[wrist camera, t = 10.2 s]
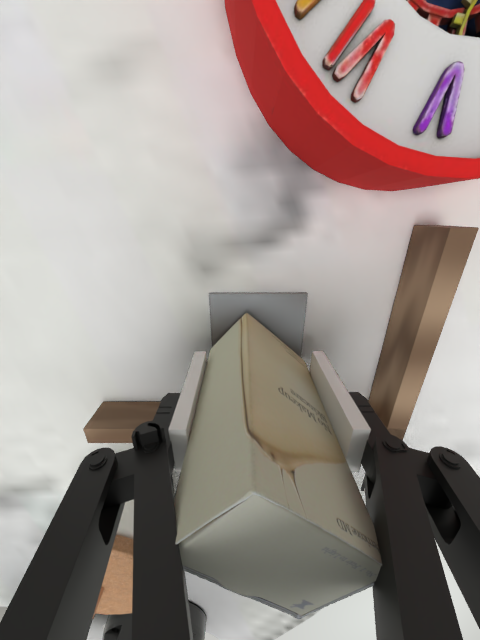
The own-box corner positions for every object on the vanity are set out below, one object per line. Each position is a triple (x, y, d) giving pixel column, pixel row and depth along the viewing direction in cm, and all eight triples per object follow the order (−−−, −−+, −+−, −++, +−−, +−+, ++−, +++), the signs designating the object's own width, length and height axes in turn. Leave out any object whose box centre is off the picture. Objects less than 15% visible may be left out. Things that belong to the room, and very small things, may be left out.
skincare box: (305, 359, 19) (408, 576, 7) (265, 394, 20) (302, 624, 9) (243, 308, 17) (259, 491, 6) (204, 350, 18) (153, 567, 7)
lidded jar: (79, 445, 24) (-12, 574, 15) (189, 455, 24) (161, 586, 16) (91, 511, 28) (25, 642, 20) (185, 518, 29) (160, 649, 20)
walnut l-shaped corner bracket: (381, 414, 22) (401, 442, 19) (106, 414, 22) (88, 442, 20) (437, 225, 16) (478, 227, 13) (52, 227, 16) (13, 229, 13)
